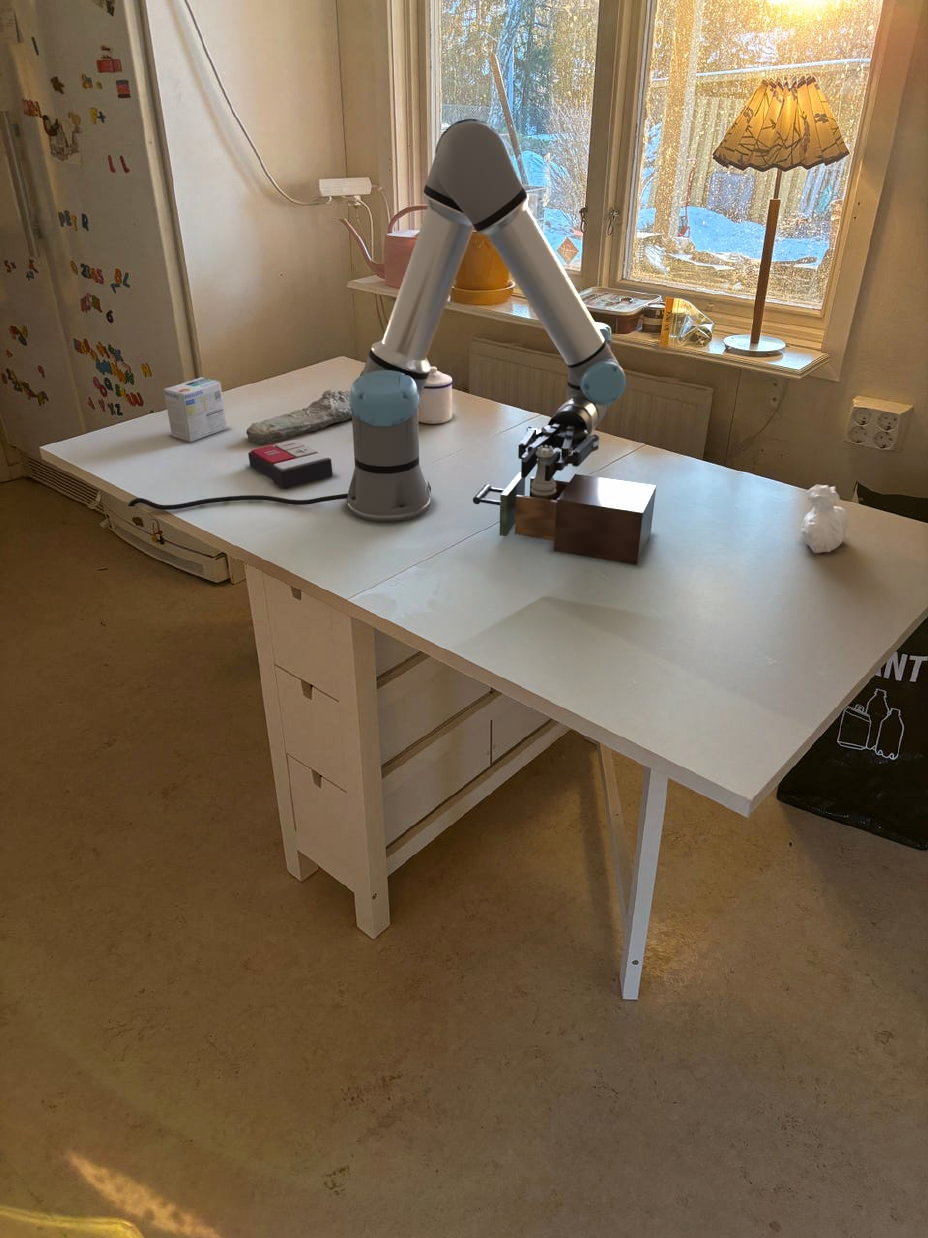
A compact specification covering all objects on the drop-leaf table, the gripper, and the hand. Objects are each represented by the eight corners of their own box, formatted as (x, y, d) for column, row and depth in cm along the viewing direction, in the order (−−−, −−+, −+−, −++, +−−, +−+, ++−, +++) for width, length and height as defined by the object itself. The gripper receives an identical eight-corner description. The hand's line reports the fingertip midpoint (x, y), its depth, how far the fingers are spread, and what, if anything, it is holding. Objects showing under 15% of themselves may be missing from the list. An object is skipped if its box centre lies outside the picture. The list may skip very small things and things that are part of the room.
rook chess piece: (526, 495, 153) (528, 450, 149) (534, 485, 156) (536, 441, 152) (551, 499, 151) (554, 454, 147) (559, 489, 155) (562, 445, 151)
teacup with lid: (461, 416, 209) (461, 366, 203) (435, 427, 203) (434, 375, 197) (421, 406, 216) (420, 357, 209) (395, 416, 209) (394, 365, 203)
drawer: (468, 530, 157) (468, 489, 153) (487, 506, 165) (488, 467, 161) (573, 547, 151) (576, 506, 147) (588, 522, 159) (591, 482, 155)
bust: (832, 543, 159) (806, 485, 159) (871, 531, 153) (844, 470, 153) (797, 566, 152) (770, 505, 152) (837, 553, 146) (809, 490, 146)
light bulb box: (208, 423, 205) (201, 375, 200) (228, 429, 202) (221, 381, 196) (170, 436, 198) (161, 387, 192) (190, 443, 194) (182, 393, 189)
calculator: (295, 437, 187) (331, 455, 177) (298, 457, 189) (333, 476, 179) (246, 448, 182) (280, 468, 171) (249, 469, 184) (283, 489, 173)
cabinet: (553, 551, 152) (556, 499, 147) (571, 523, 161) (574, 473, 156) (637, 565, 148) (643, 512, 143) (650, 535, 157) (656, 485, 152)
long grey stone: (237, 443, 198) (264, 457, 192) (233, 420, 195) (261, 434, 189) (359, 398, 218) (386, 410, 213) (357, 377, 215) (385, 388, 210)
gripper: (615, 450, 165) (583, 500, 146) (528, 438, 169) (487, 486, 151) (618, 409, 161) (586, 456, 142) (530, 399, 166) (487, 443, 147)
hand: (535, 471), depth 146 cm, fingers closed on rook chess piece, 3 cm apart
